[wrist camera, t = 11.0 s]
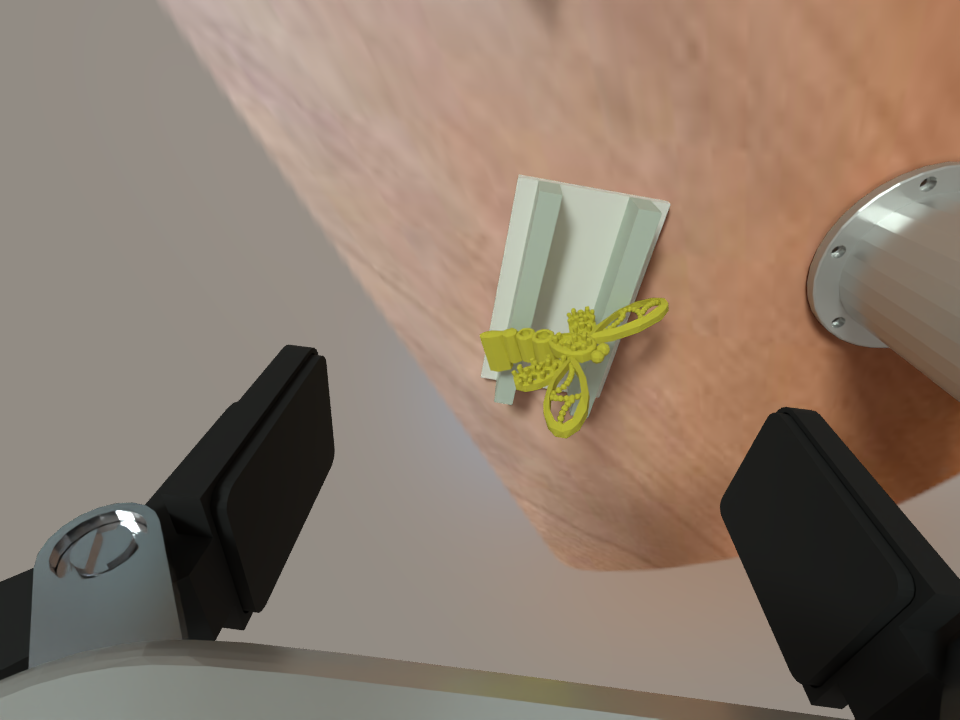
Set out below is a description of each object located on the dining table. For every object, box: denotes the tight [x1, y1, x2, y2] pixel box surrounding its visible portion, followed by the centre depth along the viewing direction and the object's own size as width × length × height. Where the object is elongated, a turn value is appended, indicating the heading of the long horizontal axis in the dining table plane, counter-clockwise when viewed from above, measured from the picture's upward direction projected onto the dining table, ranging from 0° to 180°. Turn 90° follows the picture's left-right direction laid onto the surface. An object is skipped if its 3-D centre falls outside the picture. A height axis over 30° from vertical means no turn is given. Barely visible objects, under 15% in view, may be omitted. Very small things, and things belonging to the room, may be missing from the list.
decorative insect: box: [480, 298, 668, 438], centre depth 30 cm, size 13×3×10 cm
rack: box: [481, 175, 670, 418], centre depth 33 cm, size 10×16×4 cm, turn 171°
